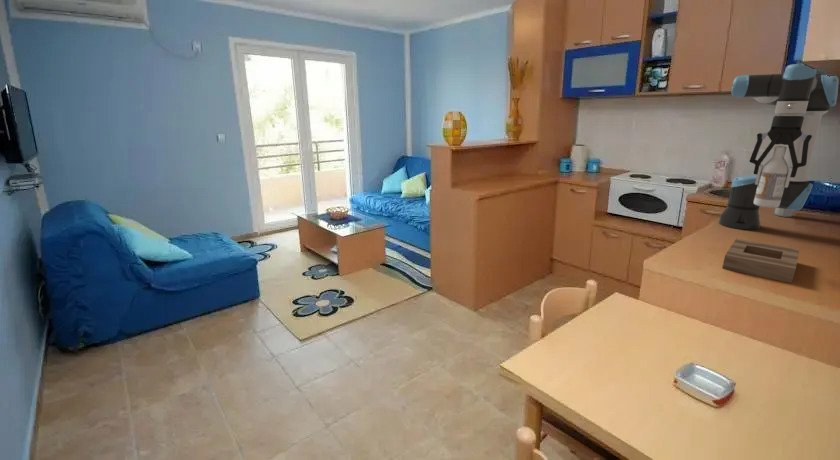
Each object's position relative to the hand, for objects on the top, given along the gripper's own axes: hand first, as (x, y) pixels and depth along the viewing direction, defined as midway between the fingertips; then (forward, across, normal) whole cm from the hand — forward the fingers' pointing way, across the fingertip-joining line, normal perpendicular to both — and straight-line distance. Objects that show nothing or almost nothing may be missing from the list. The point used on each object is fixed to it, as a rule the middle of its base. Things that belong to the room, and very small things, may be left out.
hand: (771, 185), depth 137 cm
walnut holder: (+28, +2, -2) cm, 28 cm away
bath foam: (+7, 0, 0) cm, 7 cm away
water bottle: (+27, +2, +89) cm, 93 cm away
